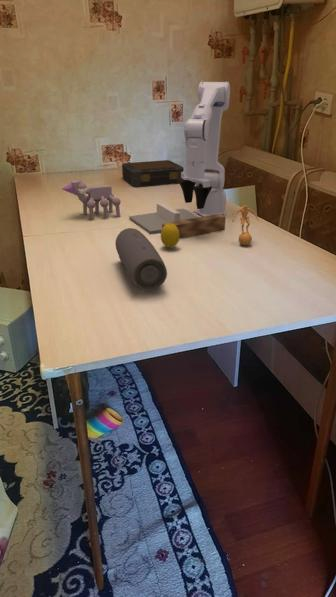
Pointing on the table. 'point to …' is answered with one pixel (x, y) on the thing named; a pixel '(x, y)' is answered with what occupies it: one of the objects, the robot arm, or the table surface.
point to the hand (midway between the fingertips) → (194, 205)
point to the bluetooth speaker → (140, 259)
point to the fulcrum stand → (160, 218)
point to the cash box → (152, 173)
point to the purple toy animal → (94, 197)
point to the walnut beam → (199, 225)
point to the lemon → (170, 235)
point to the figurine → (245, 236)
